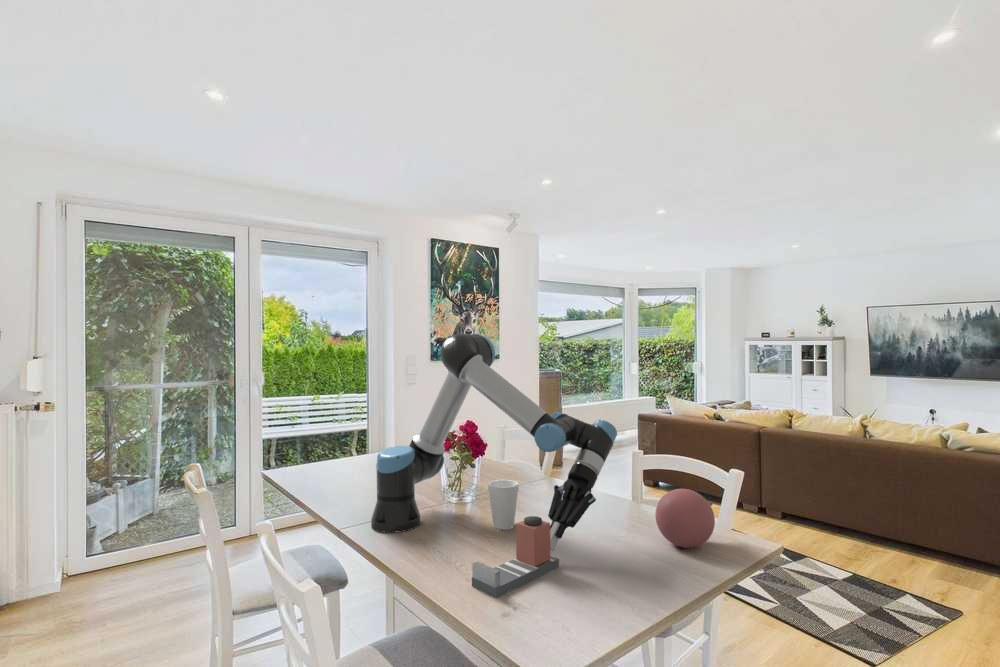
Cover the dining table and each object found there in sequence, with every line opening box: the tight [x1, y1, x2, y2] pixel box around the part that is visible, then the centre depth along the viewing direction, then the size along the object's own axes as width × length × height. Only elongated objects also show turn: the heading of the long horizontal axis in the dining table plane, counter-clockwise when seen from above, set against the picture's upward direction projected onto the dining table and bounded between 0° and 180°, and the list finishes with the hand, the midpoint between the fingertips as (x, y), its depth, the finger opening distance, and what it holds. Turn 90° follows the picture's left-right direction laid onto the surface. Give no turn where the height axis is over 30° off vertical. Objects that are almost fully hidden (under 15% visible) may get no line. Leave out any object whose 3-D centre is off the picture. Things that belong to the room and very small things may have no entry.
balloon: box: [655, 488, 716, 549], centre depth 145 cm, size 15×20×15 cm
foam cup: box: [487, 479, 519, 530], centre depth 161 cm, size 10×9×13 cm
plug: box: [515, 515, 551, 567], centre depth 130 cm, size 6×6×10 cm
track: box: [471, 556, 560, 598], centre depth 126 cm, size 22×8×5 cm, turn 135°
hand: (548, 547), depth 133 cm, fingers closed
